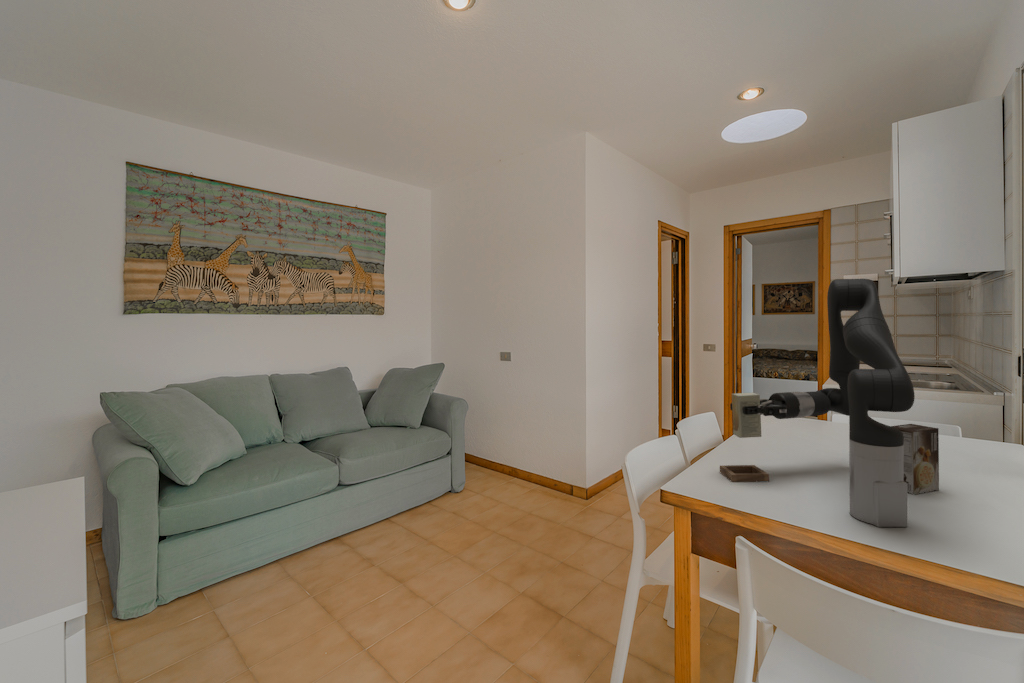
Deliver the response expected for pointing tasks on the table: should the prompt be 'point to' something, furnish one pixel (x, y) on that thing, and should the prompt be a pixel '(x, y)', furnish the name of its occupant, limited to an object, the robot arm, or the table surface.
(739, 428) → the skincare box
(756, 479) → the pocket collar
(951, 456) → the table surface
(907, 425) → the coffee box
